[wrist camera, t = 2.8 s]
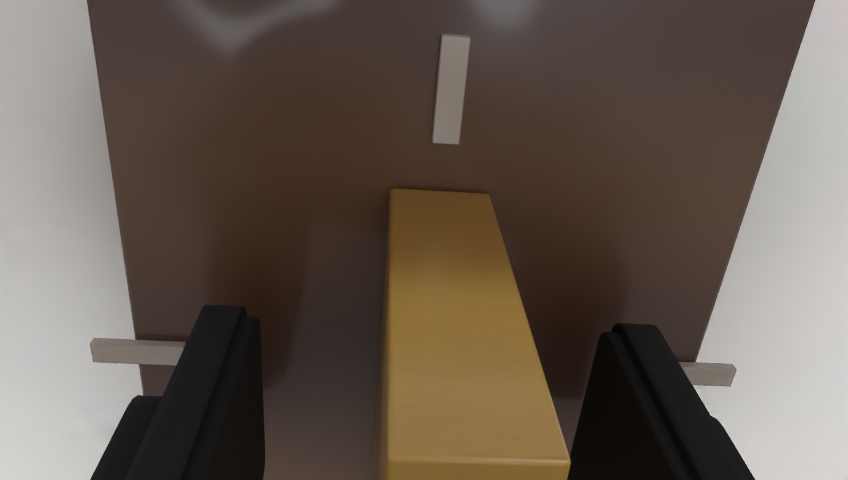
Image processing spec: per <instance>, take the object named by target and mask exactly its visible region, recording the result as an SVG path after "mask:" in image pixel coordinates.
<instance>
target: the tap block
mask: <svg viewBox="0 0 848 480" xmlns="http://www.w3.org/2000/svg"><path fill="white" fill-rule="evenodd" d="M814 3H815V0H87V4H88V11H89V18H90V25H91V32H92V39H93V46H94V53H95V60H96V67H97V74H98V81H99V88H100V95H101V102H102V109H103V116H104V123H105V130H106V137H107V144H108V151H109V158H110V165H111V172H112V179H113V186H114V193H115V200H116V207H117V214H118V221H119V228H120V235H121V242H122V249H123V256H124V262H125V269H126V276H127V283H128V290H129V297H130V304H131V311H132V318H133V325H134V332H135V339H136V340H131V339H106V338H93V340H92V341H91V343H90V348H91V353H92V359H93V362H102V363H128V364H139V367H140V374H141V381H142V388H143V395H144V396H163V394H164V392H165V389H166V387H167V385H168V383H169V380H170V378H171V376H172V374H173V372H174V369H175V367H176V365H177V363H178V360H179V358H180V356H181V354H182V352H183V349H184V347H185V345H186V343H187V341H188V338H189V336H190V334H191V332H192V329H193V327H194V325H195V323H196V321H197V318H198V316H199V314H200V312H201V310H202V308H203V306H204V305H226V306H244V307H245V308H246V311H247V317H259V319H260V326H261V352H262V378H263V404H264V430H265V470H264V477H263V480H372V472H373V456H374V440H375V424H376V407H377V391H378V375H379V359H380V343H381V327H382V310H383V294H384V278H385V262H386V246H387V229H388V213H389V197H390V191H391V189H394V188H395V189H412V190H430V191H447V192H464V193H481V194H488V195H489V196H490V199H491V203H492V206H493V209H494V212H495V216H496V219H497V222H498V226H499V229H500V232H501V235H502V239H503V242H504V245H505V248H506V252H507V255H508V258H509V261H510V265H511V268H512V271H513V274H514V278H515V281H516V284H517V288H518V291H519V294H520V297H521V301H522V304H523V307H524V310H525V314H526V317H527V320H528V323H529V327H530V330H531V333H532V336H533V340H534V343H535V346H536V349H537V353H538V356H539V359H540V363H541V366H542V369H543V372H544V376H545V379H546V382H547V385H548V389H549V392H550V395H551V398H552V402H553V405H554V408H555V411H556V415H557V418H558V421H559V425H560V428H561V431H562V434H563V438H564V441H565V444H566V447H567V451H568V454H569V457H570V453H571V449H572V445H573V441H574V437H575V433H576V429H577V425H578V421H579V417H580V412H581V408H582V404H583V400H584V396H585V392H586V388H587V384H588V380H589V375H590V371H591V367H592V363H593V359H594V355H595V351H596V347H597V343H598V339H599V336H600V335H601V333H603V332H611V329H612V327H613V326H614V325H615V324H617V323H630V324H652V325H655V326H657V328H658V329H659V330H660V332H661V333H662V335H663V337H664V338H665V340H666V342H667V343H668V345H669V347H670V348H671V350H672V352H673V353H674V355H675V357H676V359H677V360H678V362H679V364H680V365H681V367H682V369H683V370H684V372H685V374H686V375H687V377H688V379H689V380H690V382H691V384H692V385H705V386H731V383H732V381H733V378H734V375H735V372H736V368H735V367H734V365H733V364H721V363H697V362H696V359H697V356H698V353H699V350H700V347H701V344H702V341H703V338H704V335H705V332H706V329H707V326H708V323H709V320H710V317H711V314H712V311H713V308H714V305H715V302H716V298H717V295H718V292H719V289H720V286H721V283H722V280H723V277H724V274H725V271H726V268H727V265H728V262H729V259H730V256H731V253H732V250H733V247H734V244H735V241H736V238H737V235H738V232H739V229H740V226H741V223H742V220H743V217H744V214H745V211H746V208H747V205H748V202H749V199H750V196H751V193H752V190H753V187H754V184H755V181H756V178H757V175H758V172H759V169H760V166H761V163H762V160H763V157H764V154H765V151H766V148H767V144H768V141H769V138H770V135H771V132H772V129H773V126H774V123H775V120H776V117H777V114H778V111H779V108H780V105H781V102H782V99H783V96H784V93H785V90H786V87H787V84H788V81H789V78H790V75H791V72H792V69H793V66H794V63H795V60H796V57H797V54H798V51H799V48H800V45H801V42H802V39H803V36H804V33H805V30H806V27H807V24H808V21H809V18H810V15H811V12H812V9H813V6H814ZM567 480H568V477H567Z"/></svg>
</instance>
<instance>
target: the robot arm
mask: <svg viewBox="0 0 848 480" xmlns="http://www.w3.org/2000/svg"><path fill="white" fill-rule="evenodd" d="M570 460H571V465H570V469H569V473H568V480H755V479H754V477H753V475H752V474H751V472H750V470H749V469H748V467H747V465H746V464H745V462H744V460H743V459H742V457H741V455H740V454H739V452H738V451H737V449H736V447H735V446H734V444H733V442H732V441H731V439H730V437H729V436H728V434H727V432H726V431H725V429H724V427H723V426H722V425H721V424H720V422H719V421H718V420H717V419H716V418H714V417H712V416H710V414H709V412H708V411H707V409H706V407H705V406H704V404H703V402H702V401H701V399H700V397H699V395H698V394H697V392H696V390H695V389H694V387H693V385H692V384H691V382H690V380H689V379H688V377H687V375H686V374H685V372H684V370H683V369H682V367H681V365H680V364H679V362H678V360H677V359H676V357H675V355H674V353H673V352H672V350H671V348H670V347H669V345H668V343H667V342H666V340H665V338H664V337H663V335H662V333H661V332H660V330H659V329H658V328H657V326H655V325H652V324H630V323H617V324H615V325H614V326H613V327H612V329H611V332H603V333H601V335H600V336H599V339H598V343H597V347H596V351H595V355H594V359H593V363H592V367H591V371H590V375H589V380H588V384H587V388H586V392H585V396H584V400H583V404H582V408H581V412H580V417H579V421H578V425H577V429H576V433H575V437H574V441H573V445H572V449H571V453H570ZM264 470H265V430H264V404H263V378H262V352H261V326H260V319H259V317H247V311H246V308H245V307H244V306H226V305H204V306H203V308H202V310H201V312H200V314H199V316H198V318H197V321H196V323H195V325H194V327H193V329H192V332H191V334H190V336H189V338H188V341H187V343H186V345H185V347H184V349H183V352H182V354H181V356H180V358H179V360H178V363H177V365H176V367H175V369H174V372H173V374H172V376H171V378H170V380H169V383H168V385H167V387H166V389H165V392H164V394H163V396H141V395H138V396H136V397H135V398H133V399H132V401H131V402H130V404H129V405H128V407H127V409H126V411H125V413H124V414H123V416H122V418H121V420H120V422H119V424H118V426H117V428H116V430H115V432H114V434H113V436H112V438H111V440H110V442H109V444H108V446H107V448H106V450H105V452H104V454H103V456H102V458H101V460H100V462H99V464H98V466H97V468H96V470H95V472H94V473H93V475H92V477H91V479H90V480H263V477H264Z"/></svg>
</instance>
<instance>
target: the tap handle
mask: <svg viewBox="0 0 848 480" xmlns="http://www.w3.org/2000/svg"><path fill="white" fill-rule="evenodd" d="M570 465H571V460H570V457H569V454H568V451H567V447H566V444H565V441H564V438H563V434H562V431H561V428H560V425H559V421H558V418H557V415H556V411H555V408H554V405H553V402H552V398H551V395H550V392H549V389H548V385H547V382H546V379H545V376H544V372H543V369H542V366H541V363H540V359H539V356H538V353H537V349H536V346H535V343H534V340H533V336H532V333H531V330H530V327H529V323H528V320H527V317H526V314H525V310H524V307H523V304H522V301H521V297H520V294H519V291H518V288H517V284H516V281H515V278H514V274H513V271H512V268H511V265H510V261H509V258H508V255H507V252H506V248H505V245H504V242H503V239H502V235H501V232H500V229H499V226H498V222H497V219H496V216H495V212H494V209H493V206H492V203H491V199H490V196H489V195H488V194H481V193H464V192H447V191H430V190H412V189H395V188H394V189H391V191H390V197H389V213H388V229H387V246H386V262H385V278H384V294H383V310H382V327H381V343H380V359H379V375H378V391H377V407H376V424H375V440H374V456H373V472H372V480H567V477H568V473H569V469H570Z"/></svg>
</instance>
